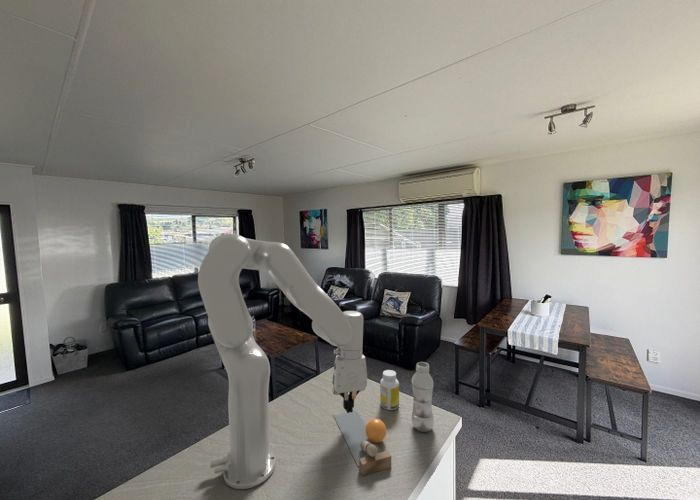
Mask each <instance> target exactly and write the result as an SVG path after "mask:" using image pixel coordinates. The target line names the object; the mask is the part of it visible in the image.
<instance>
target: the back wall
mask: <svg viewBox="0 0 700 500" xmlns="http://www.w3.org/2000/svg"><path fill="white" fill-rule="evenodd" d="M390 468H392V455H391V453H390V451H389V450H385V451H382V452H381V453H377V455H376V456H374V457H372V456H367V457H363V458H360V459H359V467H358V469H359V470H358V471H359V472H360V475H361V476H362V477H365V476H367V475H371V474H374V473H378V472H380V471H383V470H387V469H390Z"/></svg>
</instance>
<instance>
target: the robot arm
mask: <svg viewBox="0 0 700 500" xmlns="http://www.w3.org/2000/svg"><path fill="white" fill-rule="evenodd" d="M243 269H246V270H254V271H262V272H266V274H268V275H269V277H270V278H271V279H272V280H273V281H274V283H275V284H276V285H277V286H278V288H279V289H280V290H281V292H283V294H284V295H285V297H286V298H287V300H288V301H290V303H291V304H292V305H293V306H294V307H296V308H297V309H298V310H299V311H301V312H303V314H305V315H306V316H308V317H309V318H310V320H312V321H311V328H312V331H313V332H314V333H315V334H316V335H317V336H318V337H320V338H321V339H322V340H324V341H326V342H327V343H329V344H330V345H332V346H334V347H337V348H336V349H333V355H336V356H335V359H334V363H333V370H332V371H333V372H332V390H331V393H332V394H333V395H336V396H341V397H342V398H343V401H342V406H343V409H344V410H345V413H349V412H353V411H354V410H353V409H355V399H356V398H357V395H359V393H360V392H362V391H365V390H366V389H367V386H368V372H367V361H366V356H365V355H364V354H363V343H364V342H363V340H364V339H363V338H364V315H363V314H362V312H359V311H357V310H344V311H342V310H341V308H340V307H339V306H338V305H337V303H336V302H335V301H334V300H333V299H332V298H331V297H330V296H329V295H328V294H327V293H326V292H325V291H324V289H323V288H321V286H320V285H319V284H317V282H316V281H315V280H314V279H313V277H312V276H311V275H310V273H309V272H308V270H307V269H306V268H305V267H304V265H303V264H302V262H301V261H300V259H299V258H298V257H297V255H296V254H295V252H294V251H293V250H292V249H291V248H290V247H289V246H288V245H287V244H286V243H283V242H278V241H264V240H258V239H252V238H247V237H244V236H242V235H240V234H237V233H226V234H224V233H223V234H220V235H218V236H216V237H214V238H213V239H212V240H211V241H210V243H209V246H208V251H207V253H206V254H205V256H204V257H203V259H202V261H201V264H200V266H199V269H198V274H197V285H198V289H199V293H200V297H201V300H202V302H203V305H204V309H205V311H206V315H207V317H208V318H207V324H208V328H209V331H210V333H211V336H212V339H213V342H214V344H215V347H216V349H217V352H218V353H219V356H220V359H221V362H222V364H223V366H224V369H225V371H226V373H227V376H228V378H227V379H228V396H227V397H228V400H227V402H228V403H227V404H228V406H227V407H228V409H227V410H228V433H229V434H228V437H229V439H228V440H229V449H228V453H225V454H224V455H223V456H219V457H215V458H211V459H210V466H209V467H210V469H214V474H218V473H221V472H223V480H224V482H225V483H226V485H228V487H230V488H232V489H235V490H246V489H251V488H254V487H257V486H259V485H260V484H262V483H264V482H265V481H266V480H267V479H268V478H269V477H270V476H271V475H272V473H274V471H275V468H276V464H277V458H276V454H275V452H274V451H273V450H272V449H270V418H269V417H270V414H269V411H270V410H269V409H270V408H269V407H270V406H269V388H270V387H269V385H270V376H271V365H270V361H269V357H268V356H267V353H265V352H264V350H263V349H262V348H261V347H260V345H258V343H257V342H256V340H255V337H254V334H253V331H254V323H253V319H252V316H251V314H250V312H249V310H248V307H247V305H246V302H245V299H244V296H243V293H242V290H241V287H240V281H239V280H240V274H241V272H242V270H243Z"/></svg>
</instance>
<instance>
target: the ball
mask: <svg viewBox="0 0 700 500" xmlns="http://www.w3.org/2000/svg"><path fill="white" fill-rule="evenodd" d="M365 425H366V429H365V431H366V435H367V437H368V439H369V440H370V441H371V442H374V443H377V444H379V443H381V442H383V441H384V440H385V438H386V435H387V427H386V425H385V423H384V422H383V420H381V419H379V418H371V419H370V420H368V422H367V423H366V424H365Z"/></svg>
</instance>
